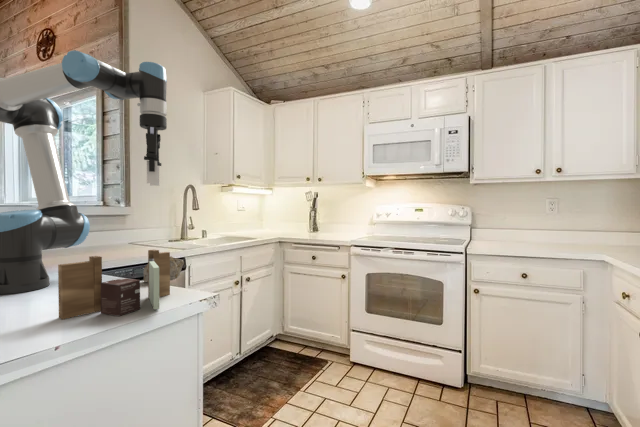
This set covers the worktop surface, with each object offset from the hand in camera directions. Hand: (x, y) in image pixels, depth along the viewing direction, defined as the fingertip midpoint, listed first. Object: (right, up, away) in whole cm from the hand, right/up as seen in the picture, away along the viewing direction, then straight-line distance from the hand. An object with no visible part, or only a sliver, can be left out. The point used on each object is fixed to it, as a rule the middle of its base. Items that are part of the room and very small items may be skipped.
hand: (153, 184), depth 107 cm
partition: (+1, -32, -19) cm, 37 cm away
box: (+4, -33, -24) cm, 41 cm away
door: (+9, -32, -19) cm, 39 cm away
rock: (0, -32, +9) cm, 33 cm away
